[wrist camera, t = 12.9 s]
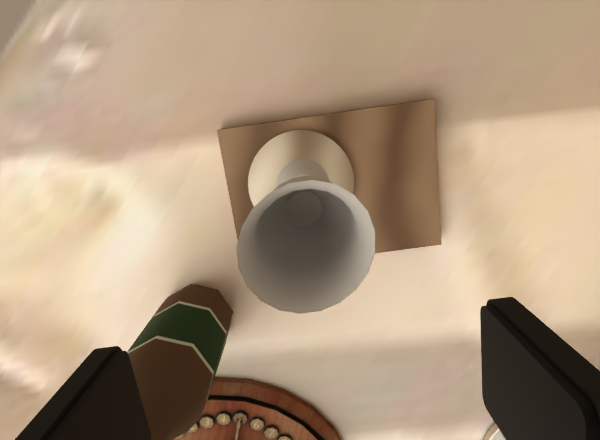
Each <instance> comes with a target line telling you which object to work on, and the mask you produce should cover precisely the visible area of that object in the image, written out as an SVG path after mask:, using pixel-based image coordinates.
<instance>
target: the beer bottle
mask: <svg viewBox="0 0 600 440" xmlns="http://www.w3.org/2000/svg"><path fill="white" fill-rule="evenodd" d="M232 313H233V312H232V310H231V309H230V307H229V306H228V305H227V303H226V302H225V300H224V299H223V297H222V296H221V294H220V293H219V292H218V290H214V289H210V288H205V287H201V286H197V285H193V284H190V285H189V286H187V287H185V288H183V289H182V290H180V291H178V292H176V293H175V294H173V295H171V296H169V297H168V298H167V299H166V300H165V301H164V302H163V304H162V305H161V306H160V308H159V309H158V310H157V312H156V313H155V314H154V316H153V317H152V319H151V320H150V321H149V323H148V324H147V326H146V327H145V328H144V330H143V331H142V332H141V334H140V335H139V337H138V338H137V339H136V341H135V342H134V344H133V345H132V346H131V348H130V349H129V351H128V352H127V353H128V355H129V358H130V361H131V365H132V368H133V372H134V375H135V379H136V382H137V386H138V389H139V393H140V397H141V400H142V404H143V407H144V411H145V414H146V418H147V421H148V425H149V428H150V432H151V440H173V439H175V438H176V437H178V436H180V435H182V434H184V433H186V432H188V431H189V430H190V429H191V428H192V427H193V426H194V424H195V423H196V422H197V421H198V420H199V419H200V417H201V414H202V412H203V410H204V407H205V405H206V402H207V399H208V396H209V393H210V390H211V387H212V384H213V381H214V377H215V374H216V371H217V368H218V365H219V362H220V359H221V356H222V353H223V350H224V346H225V343H226V339H227V335H228V330H229V326H230V322H231V318H232Z"/></svg>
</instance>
